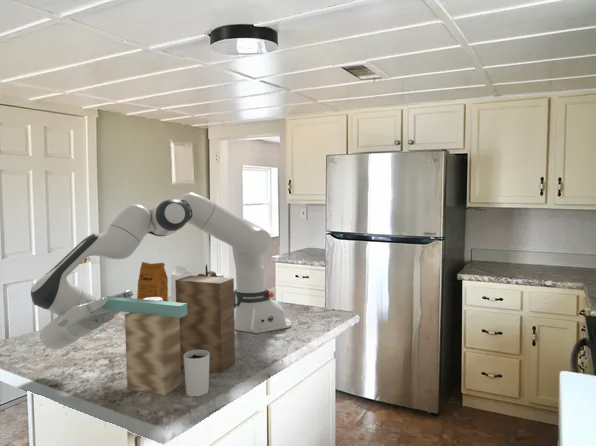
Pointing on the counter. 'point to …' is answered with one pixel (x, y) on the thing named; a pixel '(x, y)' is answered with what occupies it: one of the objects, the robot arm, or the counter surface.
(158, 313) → the rail
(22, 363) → the counter surface
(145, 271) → the coffee package
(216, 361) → the post
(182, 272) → the milk
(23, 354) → the counter surface
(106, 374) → the counter surface
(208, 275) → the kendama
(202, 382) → the white coffee cup
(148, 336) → the zigzag patterned block
